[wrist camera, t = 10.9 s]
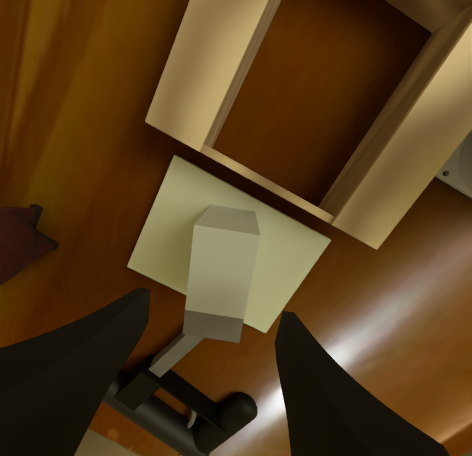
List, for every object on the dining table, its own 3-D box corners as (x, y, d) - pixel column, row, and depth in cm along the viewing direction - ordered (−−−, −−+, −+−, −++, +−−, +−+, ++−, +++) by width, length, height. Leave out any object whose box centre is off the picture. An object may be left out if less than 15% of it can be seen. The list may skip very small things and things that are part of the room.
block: (255, 211, 20) (260, 235, 13) (240, 288, 22) (239, 342, 15) (211, 204, 20) (194, 224, 13) (201, 282, 22) (182, 333, 15)
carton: (480, 54, 16) (559, 16, 12) (350, 233, 21) (376, 249, 17) (259, -100, 15) (265, -204, 10) (166, 131, 19) (144, 121, 15)
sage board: (328, 237, 21) (331, 240, 20) (265, 327, 24) (265, 333, 23) (177, 155, 19) (174, 155, 19) (130, 263, 22) (126, 266, 22)
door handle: (149, 294, 21) (56, 388, 24) (287, 406, 24) (192, 478, 27) (160, 278, 24) (77, 363, 27) (281, 379, 28) (196, 446, 30)
